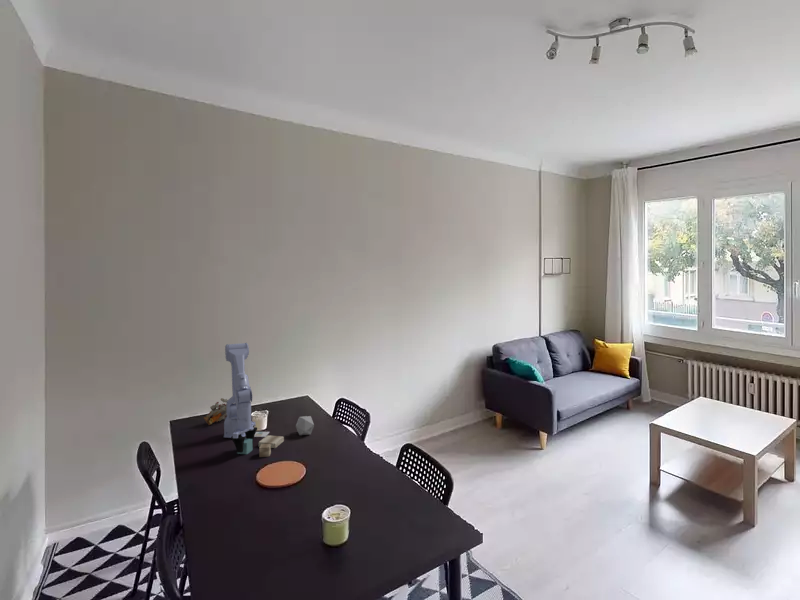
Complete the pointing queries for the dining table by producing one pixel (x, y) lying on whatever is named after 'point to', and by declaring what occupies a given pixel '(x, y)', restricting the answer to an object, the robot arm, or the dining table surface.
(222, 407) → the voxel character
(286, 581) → the dining table surface
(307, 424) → the die
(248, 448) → the teal cube
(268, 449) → the block
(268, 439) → the birch slab
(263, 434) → the blueprint card
